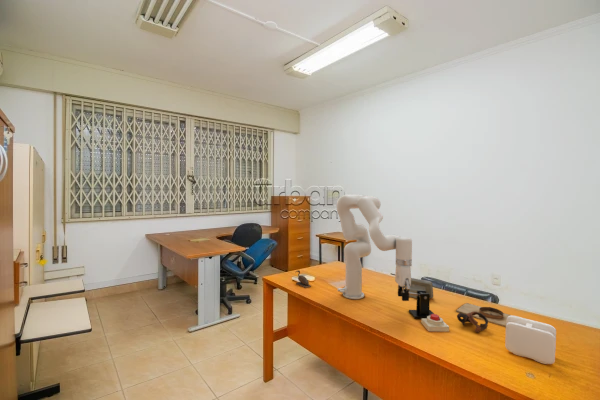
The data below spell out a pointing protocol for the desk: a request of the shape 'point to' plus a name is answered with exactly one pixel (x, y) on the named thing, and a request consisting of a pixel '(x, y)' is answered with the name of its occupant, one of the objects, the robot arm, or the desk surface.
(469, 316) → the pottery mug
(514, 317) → the cable organizer
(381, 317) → the desk surface
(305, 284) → the figurine
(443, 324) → the control block
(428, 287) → the digital clock
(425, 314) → the bracket
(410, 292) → the lever
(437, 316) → the button
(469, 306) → the board
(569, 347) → the desk surface
